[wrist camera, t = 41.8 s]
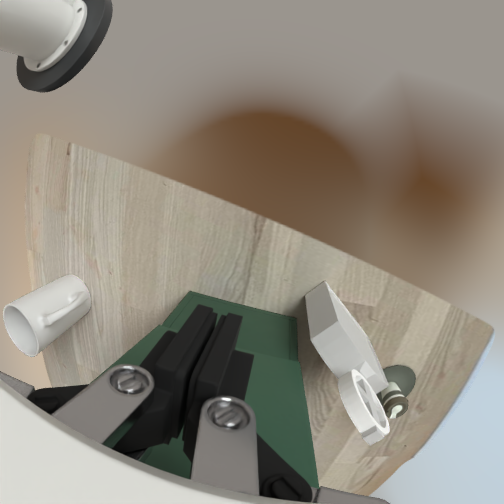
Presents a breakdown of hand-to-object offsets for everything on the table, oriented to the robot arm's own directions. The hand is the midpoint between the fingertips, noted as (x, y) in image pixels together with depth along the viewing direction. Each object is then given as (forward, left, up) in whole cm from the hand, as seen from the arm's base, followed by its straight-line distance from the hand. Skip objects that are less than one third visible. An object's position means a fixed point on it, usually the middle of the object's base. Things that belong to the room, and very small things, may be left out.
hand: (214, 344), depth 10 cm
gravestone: (+7, +11, -21) cm, 25 cm away
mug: (+14, -22, -21) cm, 34 cm away
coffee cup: (+16, +22, -21) cm, 34 cm away
